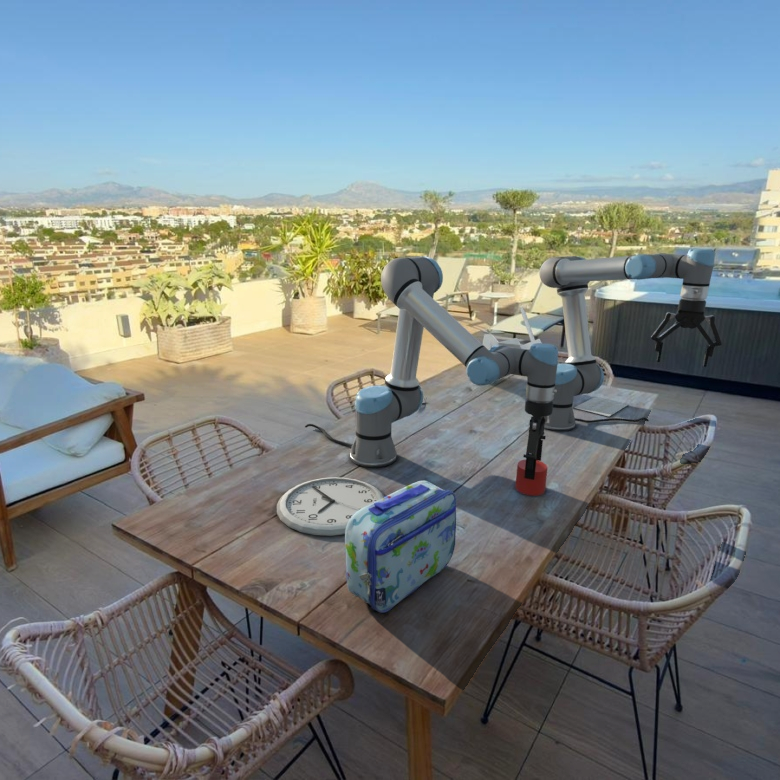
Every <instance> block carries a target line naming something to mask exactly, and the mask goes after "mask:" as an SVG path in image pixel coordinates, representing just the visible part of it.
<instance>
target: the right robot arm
mask: <svg viewBox="0 0 780 780" xmlns="http://www.w3.org/2000/svg"><path fill="white" fill-rule="evenodd" d="M715 257H716V251H715V250H714V249H709V248H690V249H689V250H688V252H687V253H686V254H676V253H675V254H674V253H665V252H662V253H653V254H646V253H643V254H642V253H641V254H635V255H624V256H611V257H600V258H589V259H586V258H585V257H581V256H576V255H573V256H553V257H550V258H548V259H546V260H545V261H544V262H543V263H542V265H541V266H540V268H539V273H538V274H539V279H540V281H541V282H542V284H544V285H545V286H546V287H548V288H551V289H556V294H557V296H559V297H560V298H561V302H562V303H561V304H562V310H563V311H562V312H563V313H562V314H563V320H564V330H565V339H566V346H567V347H566V348H567V358H566V360H565V361H564V363H558V365H557V373H556V381H555V388H554V389H556V390H557V393H554V399H553V400H552V401H553V412H552V414H551V415H549V416H545V419H546V420H545V426H544V430H549V431H556V432H567V431H572V430H574V429H575V428H576V422H582V423H586V424H590V423H591V424H592V423H600V422H611V421H613V422H614V421H617V422H618V421H621V422H630V423H638V422H641V421H646V422H650V420H649V419H648V418H647V417H645V416H643V417H640V418H637V419H632V418H631V419H630V418H621V417H616V418H615V417H611V418H610V417H608V418H599V419H594V420H593V419H590V420H589V419H587V420H586V419H581V418H577V417H576V416H575V413H574V407H573V405H574V398H575V397H579V396H581V395H585V394H586V395H588V394H592V393H593V392H596V391H598V390H599V388H600V387H602V385H603V383H604V381H605V374H604V373H605V372H604V369H603V368H602V367H601V366H600V365H599V364H598V363H597V358H596V357H595V356H593V354H592V349H591V339H590V330H589V323H588V322H589V321H588V311H587V303H586V292H587V291H588V290H589V283H590V282H603V281H623V280H625V281H626V280H637V281H638V280H639V281H640V280H648V279H664V278H665V279H666V278H667V279H669V278H670V279H681V280H682V285H681V289H680V295H679V296H680V299H679V301H678V306H677V311H676V313H673V312H670V311H667V312H666V313H665V316H664V319H663V320H662V321H661V322H660V324H659V325H658V326H657V328H656V330H655V331H653V333H652V334H651V336H650V338H651V340H653V341H655V347H654V351H655V352H657V357H656V362H657V363H660V362H661V357H662V351H663V347H664V342H663V340H665V339H666V338H667V337H669V335H671V334H672V333H673V332H675V331H676V330H677V329H679V328H680V327H681V328H683V329H696V328H697V329H698V331H699V332H700V334H701V335H702V337H703V338H704V340H705V341H706V342H707V343H708V345H705V346H706V347H705V351H704V357H703V361H702V367H704V368H707V366H708V360H709V358H710V357H713V355H714V349H715V347H719V346H722V344H723V343H722V341H721V338H720V335H719V331H718V329H717V326H716V323H715V322H716V317H715V316H714V314H711V315H705V311H706V306H707V301H706V299H708V296H709V295H708V294H709V290H710V283H711V279H712V274H713V270H714V266H715ZM673 318H675V320H676V321H675V322H674V323H673V325H671V326H670V327H669V328H668V329H666V330H665V331H664V332H662V331H663V329H664V328H665V327H666V326H667V324H668V323H669V321H671V320H673ZM705 320H706V323H708V324H709V327H710V329H711V332H712V335H713V338H714V341H713V340H712V338H711V337H710V336H709V334H708V333H707V331H705V329H704V327H703V326H702V325H701V324H702V323H703V322H704V321H705ZM661 332H662V333H661ZM660 333H661V334H660ZM659 334H660V335H659Z"/></svg>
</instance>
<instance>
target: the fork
mask: <svg viewBox="0 0 780 780" xmlns="http://www.w3.org/2000/svg"><path fill="white" fill-rule="evenodd" d="M427 399H428V396H425V395H424V396H423V402H422V404H425V403H426V402H427Z"/></svg>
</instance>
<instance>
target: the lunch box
mask: <svg viewBox="0 0 780 780" xmlns="http://www.w3.org/2000/svg"><path fill="white" fill-rule="evenodd" d="M456 531H457V499H456V495H455V493H454V492H453V490H450V489H442V488H440V487H439V486H437V485H435V484H433V483H432V482H430V481H428V480H418V481H416V482H413V483H410V484H409V485H406V486H405V487H402V488H400V489H398V490H396V491H394V492H392V493H390V494H388V495H385V497H384V498H382V499H380V500H378V501H376V502H374V503H372V504H370V505H368V506H366V507H364V508H362V509H360V510H358V511H357V512H355V513H354V514H353V515H352V517H351V518H350V520H349V522H348V524H347V527H346V531H345V534H344V552H345V577H346V578H345V580H346V586H347V589H348V592H349V593H350V594H352V595H354V596H356V597H357V598H359V599H361V600H363V602H365V603H367V604H368V605H370V607H371V608H372V609H373V610H375V611H376V612H378V613H380V614H382V613H383V614H385V613H387V612H389V611H391V609H393V608H394V607H395V606H396V605H397V604H400V602H401V601H402V600H404V599H406V597H409V596H410V595H411V594H412V593H414V592H415V591H416V590H417V589H418V588H420V587H421V586H422V585H423V584H424V583H425V582H427V581H428V580H430V579H432V578H433V577H434V576H436V575H437V574H439V573H441V572H442V571H443V570H445V568H446V567H447V566H448V564H449V563H450V561H451V560H452V557H453V554H454V551H455V548H456V547H455V546H456Z"/></svg>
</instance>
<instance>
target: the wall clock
mask: <svg viewBox="0 0 780 780" xmlns="http://www.w3.org/2000/svg"><path fill="white" fill-rule="evenodd" d="M384 497H386V495H385V494H384V493H383V492H382V491H381V490H380V489H379V488H377V487H376V486H374V485H372V484H371V483H369V482H365V481H362V480H359V479H355V478H349V477H338V476H337V477H335V476H333V477H332V476H331V477H322V478H317V479H312V480H307V481H305V482H302V483H299V484H297V485H295V486H293V487H292V488H290V489H288V490H287V491H286V492H285V493H284V494H283V495H281V496H280V498H279V499H278V502H277V503H276V515H277V517H278V518H279V520H280V521H281V522H282V523H283V524H285V525H286V526H287V527H288V528H290V529H293V530H295V531H297V532H299V533H303V534H308V535H312V536H327V537H328V536H329V537H331V536H332V537H333V536H342V535H345V531H346V527H347V524H348V522H349V520H350V518H351V517H352V515H353V514H354V513H355V512H357V511H358V510H360V509H362V508H364V507H366V506H368V505H370V504H372V503H374V502H376V501H378V500H380V499H382V498H384Z"/></svg>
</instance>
